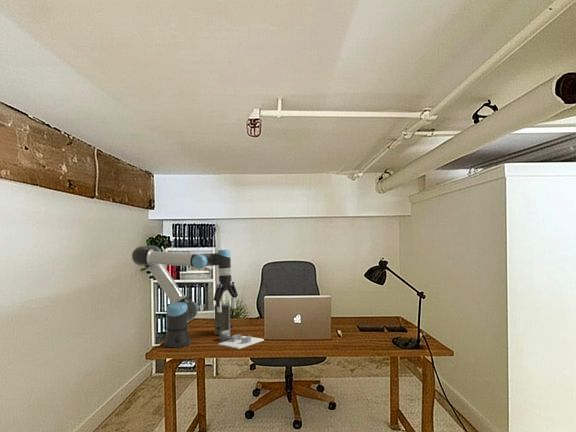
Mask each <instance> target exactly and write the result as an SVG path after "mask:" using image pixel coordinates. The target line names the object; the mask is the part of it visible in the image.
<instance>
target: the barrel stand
mask: <svg viewBox="0 0 576 432" xmlns="http://www.w3.org/2000/svg"><path fill="white" fill-rule="evenodd" d="M263 341H265V339H264V338H259V337H254V336H252V335H248V336H247V335H246V336H245V335H242V334H241V333H238V334H233V335H232V336H231V340H229V341H221V342H219V343H218V344H217V346H220V347H225V348H232V349H237V350H240V349H243V348H246V347H249V346H252V345H254V344H258V343H261V342H263Z"/></svg>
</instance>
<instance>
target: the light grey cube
mask: <svg viewBox="0 0 576 432" xmlns="http://www.w3.org/2000/svg"><path fill="white" fill-rule="evenodd" d="M229 340H232V336H231V331H230V332H229V330H225V331H221V333H220V335H219V341H220V342H225V341H229Z"/></svg>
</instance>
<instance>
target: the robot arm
mask: <svg viewBox="0 0 576 432" xmlns="http://www.w3.org/2000/svg"><path fill="white" fill-rule="evenodd" d="M131 260H132V261H133V263H134V264H135V265H138V266H144V268H145V270H146V271H148V272H151V275H152V276H153V277H154V279H155V280H156V282H157V283H158V285H159V286H160V288H161V289H162V290H163V292H164V294H165V295H166V297H167V298H168V300H169V301H170V304H168V305H167V307H166V312H165V313H166V334H165V339H164V341H163V346H164V347H165V346H166V347H165V348H171V347H175V348H183V347H187V346H189V344H190V345H191V344H192V343H191V341H192V339H191V336H190V333H189V330H188V322H190V321H192V320H193V319H195V317H197V314H198V305H197V303H196V302H195V301H193V300H191V299H190V298H189V297H188V295H185V294H184V293H183V292H182V290H181V288H180V287H179V286H178V285H177V283H176V281H175V280H174V278H173V277H172V275H171V274H170V272H169V271H168V269H167V268H166V266H176V267H177V266H178V267H179V266H180V267H190V268H191V267H192V268H196V269H203V268H206V267H210V266H211V267H213V266H216V267H217V266H218V275H219V276H218V282H219V283H217V284H216V288H215V293H214V296H213V301H214V302H216V303H215V304H216V305H217V312H222V310H221V304H222V300H221V299H222V297H223V295H224V292H226V291H227V292H228V293H229V295H230V296H231V297H230V303H231V305H230V309H236V306H237V305H236V302H237V301H236V298H238V295H239V294H238V292H237V289H236V285H235V281H232V269H231V268H232V264H231V263H232V262H231V261H232V260H231V251H230V249H227V248H226V249H218V250H217V252H216V253H213V252H212V253H200V254H198V253H197V254H195V253H184V252H171V251H161V249H160V248H158V247H157V246H154V245H145V246H143V245H142V246H138V247H136V248H135V249H133V251H132V253H131ZM182 346H183V347H182Z"/></svg>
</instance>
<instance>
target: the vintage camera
mask: <svg viewBox="0 0 576 432" xmlns="http://www.w3.org/2000/svg"><path fill="white" fill-rule="evenodd" d="M213 309H214V335H215V336H220V333H221V331H225V330H229V332H230V333H231V329H232V328H233V327H234V326H235V325H234V324H233V323H231V305H230V303H221V310H222V312H217V305H216V303H215V304H214V306H213Z"/></svg>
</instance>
